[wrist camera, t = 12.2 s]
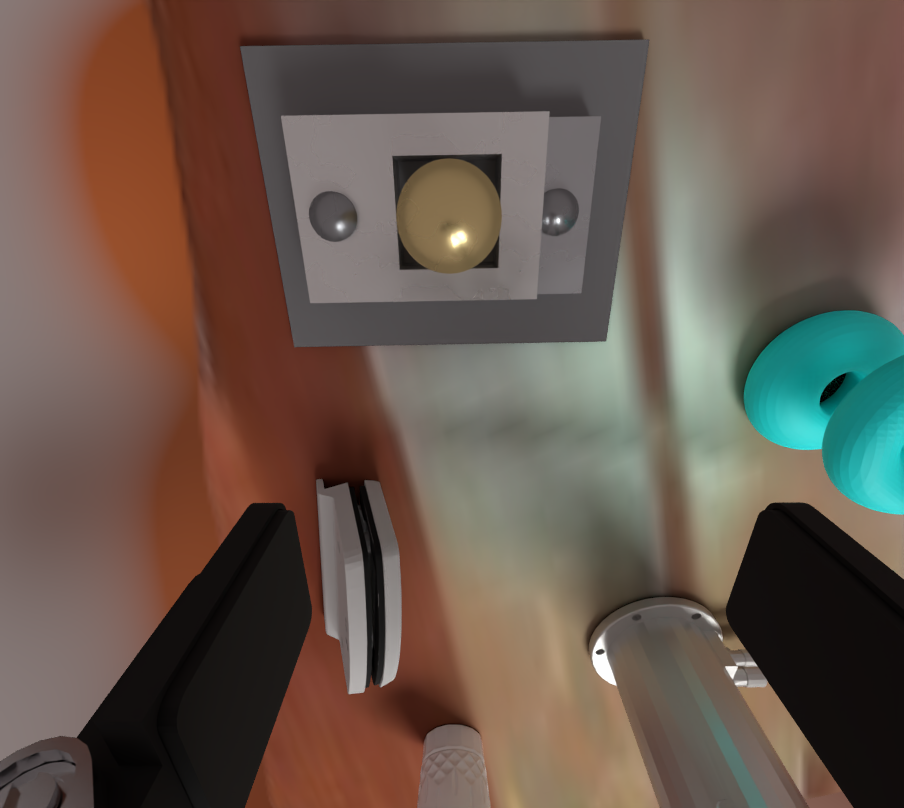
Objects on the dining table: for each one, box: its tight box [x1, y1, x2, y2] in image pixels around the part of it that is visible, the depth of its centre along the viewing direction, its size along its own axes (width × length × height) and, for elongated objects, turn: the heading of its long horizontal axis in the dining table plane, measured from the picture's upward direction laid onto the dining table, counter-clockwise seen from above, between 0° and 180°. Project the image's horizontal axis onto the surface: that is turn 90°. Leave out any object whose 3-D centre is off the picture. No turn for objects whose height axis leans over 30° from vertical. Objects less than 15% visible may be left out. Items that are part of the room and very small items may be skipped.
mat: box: [240, 40, 649, 347], centre depth 25 cm, size 21×16×1 cm
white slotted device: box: [316, 479, 401, 694], centre depth 34 cm, size 17×5×10 cm, turn 175°
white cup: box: [417, 725, 491, 808], centre depth 45 cm, size 8×8×10 cm
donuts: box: [744, 310, 904, 514], centre depth 26 cm, size 10×10×10 cm
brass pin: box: [396, 158, 502, 274], centre depth 21 cm, size 4×4×10 cm
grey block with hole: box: [281, 111, 601, 303], centre depth 23 cm, size 16×9×4 cm, turn 91°
